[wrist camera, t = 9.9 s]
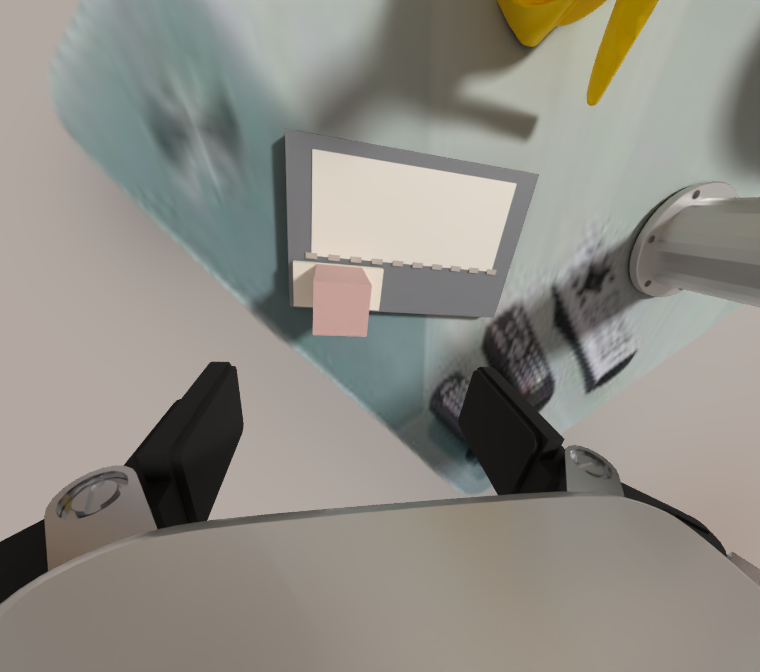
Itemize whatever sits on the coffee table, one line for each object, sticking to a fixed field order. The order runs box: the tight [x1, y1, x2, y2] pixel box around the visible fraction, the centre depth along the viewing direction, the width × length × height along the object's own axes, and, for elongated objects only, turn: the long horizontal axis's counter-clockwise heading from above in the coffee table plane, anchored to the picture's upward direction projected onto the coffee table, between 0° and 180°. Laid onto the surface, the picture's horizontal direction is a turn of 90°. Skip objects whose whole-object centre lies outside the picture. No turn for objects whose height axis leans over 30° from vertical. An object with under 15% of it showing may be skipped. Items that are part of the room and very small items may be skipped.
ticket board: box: [285, 128, 539, 318], centre depth 26 cm, size 22×14×2 cm, turn 83°
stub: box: [293, 260, 384, 337], centre depth 22 cm, size 8×4×7 cm, turn 83°
